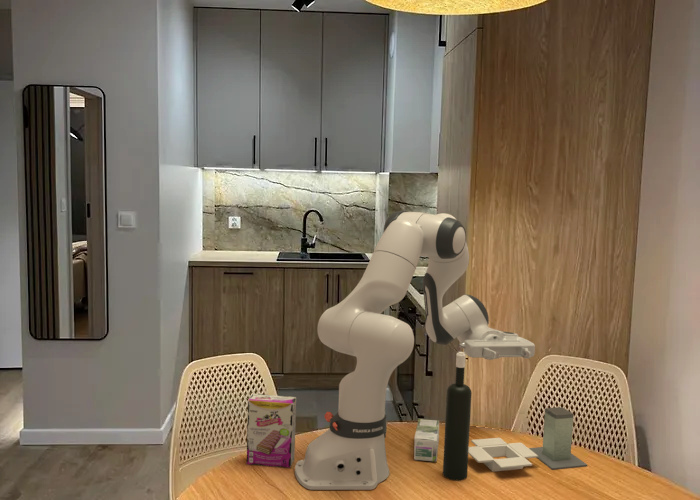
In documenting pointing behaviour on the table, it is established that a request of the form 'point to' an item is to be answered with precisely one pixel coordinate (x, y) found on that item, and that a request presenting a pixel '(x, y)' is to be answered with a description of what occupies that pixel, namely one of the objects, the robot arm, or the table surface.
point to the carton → (501, 454)
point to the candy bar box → (271, 430)
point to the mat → (558, 464)
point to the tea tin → (557, 434)
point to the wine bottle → (457, 425)
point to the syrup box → (426, 440)
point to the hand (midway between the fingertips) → (512, 355)
